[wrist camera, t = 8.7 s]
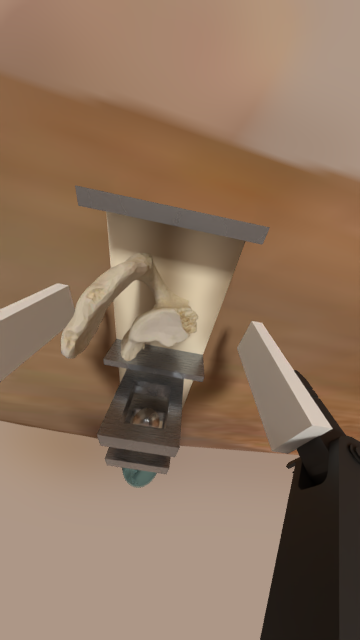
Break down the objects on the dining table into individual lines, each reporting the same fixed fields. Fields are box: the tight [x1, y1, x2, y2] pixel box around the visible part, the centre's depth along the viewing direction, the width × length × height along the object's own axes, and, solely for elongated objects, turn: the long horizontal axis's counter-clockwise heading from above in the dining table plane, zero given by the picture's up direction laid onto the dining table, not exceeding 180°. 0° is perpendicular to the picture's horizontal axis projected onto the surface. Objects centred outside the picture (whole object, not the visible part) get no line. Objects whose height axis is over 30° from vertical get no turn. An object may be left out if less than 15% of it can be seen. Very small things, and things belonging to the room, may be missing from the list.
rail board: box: [106, 211, 245, 428], centre depth 21 cm, size 10×36×2 cm, turn 170°
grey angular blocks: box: [75, 186, 269, 474], centre depth 14 cm, size 10×25×9 cm, turn 170°
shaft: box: [122, 408, 160, 488], centre depth 22 cm, size 16×6×6 cm, turn 170°
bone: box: [61, 253, 198, 361], centre depth 11 cm, size 9×6×10 cm
